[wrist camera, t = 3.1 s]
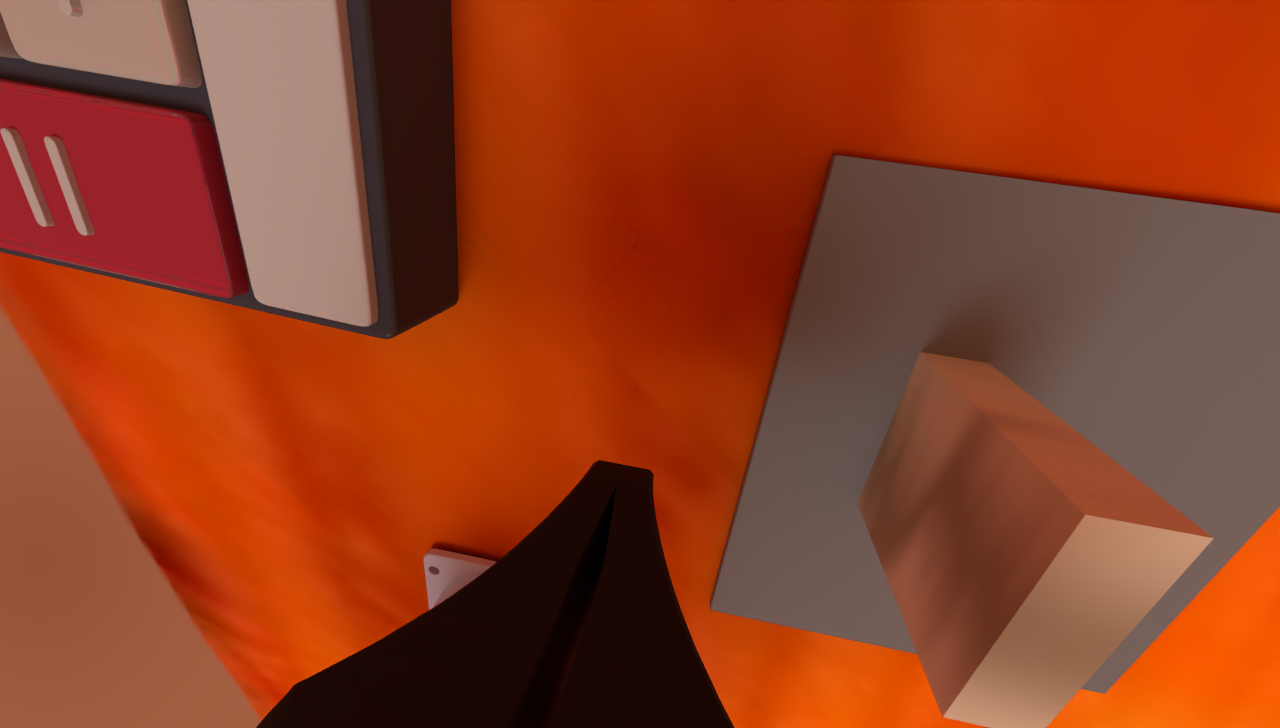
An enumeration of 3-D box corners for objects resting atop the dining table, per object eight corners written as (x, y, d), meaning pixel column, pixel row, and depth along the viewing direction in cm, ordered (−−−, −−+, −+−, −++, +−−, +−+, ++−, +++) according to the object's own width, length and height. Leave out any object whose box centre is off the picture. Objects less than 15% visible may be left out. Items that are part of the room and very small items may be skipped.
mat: (1097, 683, 19) (1104, 693, 19) (710, 601, 20) (710, 609, 20) (1497, 242, 11) (1522, 245, 11) (832, 154, 13) (836, 155, 12)
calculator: (-335, -278, 10) (314, -228, 8) (-27, -154, 13) (453, -103, 12) (-65, 252, 14) (377, 354, 13) (106, 231, 18) (462, 307, 16)
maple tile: (914, 514, 17) (1036, 738, 10) (857, 503, 17) (942, 716, 10) (989, 362, 14) (1213, 538, 8) (920, 351, 14) (1085, 514, 8)
